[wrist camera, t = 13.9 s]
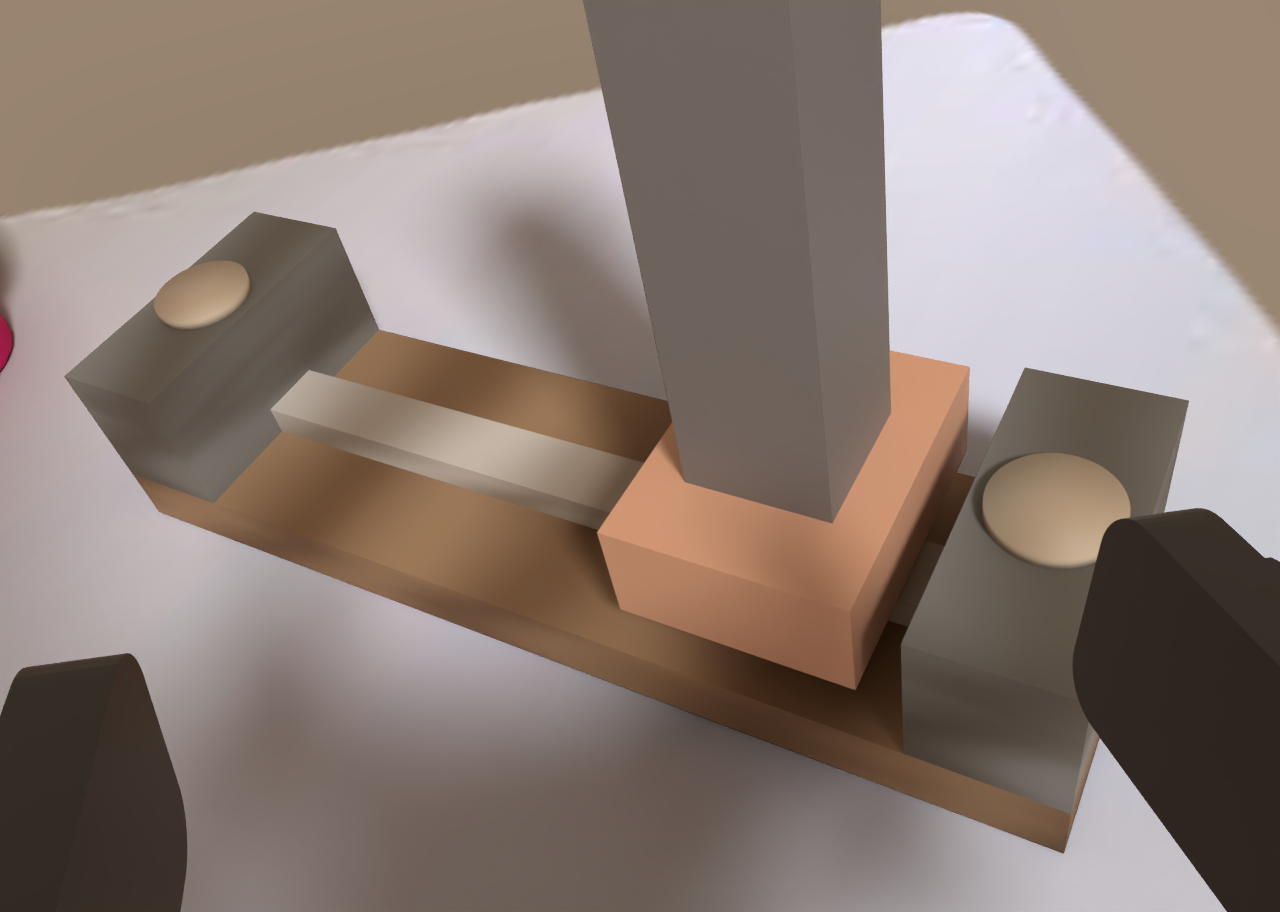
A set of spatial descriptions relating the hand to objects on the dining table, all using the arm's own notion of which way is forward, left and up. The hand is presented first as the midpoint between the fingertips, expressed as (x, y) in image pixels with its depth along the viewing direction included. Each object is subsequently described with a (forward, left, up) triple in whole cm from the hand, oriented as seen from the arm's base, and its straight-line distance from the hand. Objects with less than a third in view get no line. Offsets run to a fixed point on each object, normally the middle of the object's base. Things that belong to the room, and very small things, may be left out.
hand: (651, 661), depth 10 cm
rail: (-9, +10, -13) cm, 19 cm away
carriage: (-4, +10, -11) cm, 15 cm away
